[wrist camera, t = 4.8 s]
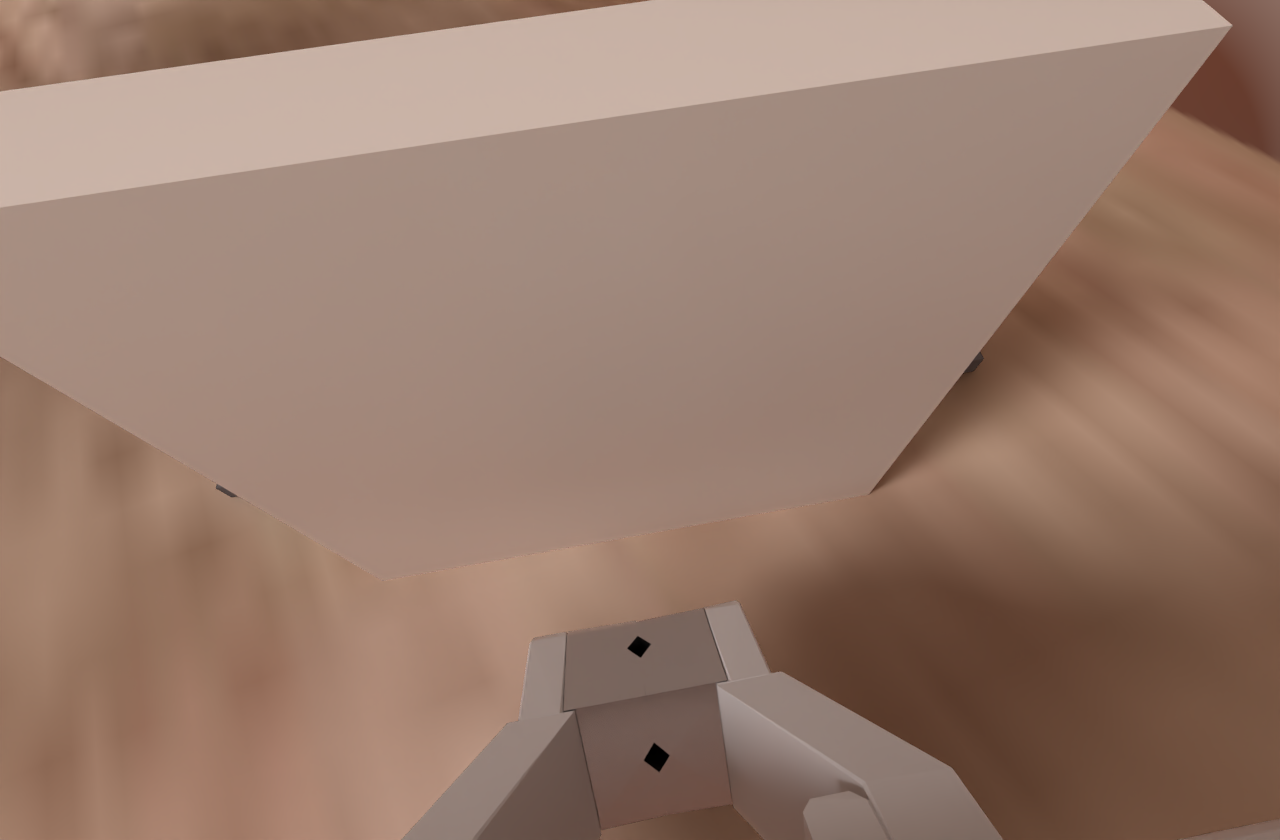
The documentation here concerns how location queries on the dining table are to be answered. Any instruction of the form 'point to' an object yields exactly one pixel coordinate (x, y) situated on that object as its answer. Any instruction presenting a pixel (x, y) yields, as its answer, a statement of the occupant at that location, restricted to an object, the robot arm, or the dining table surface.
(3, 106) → the tile
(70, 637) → the dining table surface
